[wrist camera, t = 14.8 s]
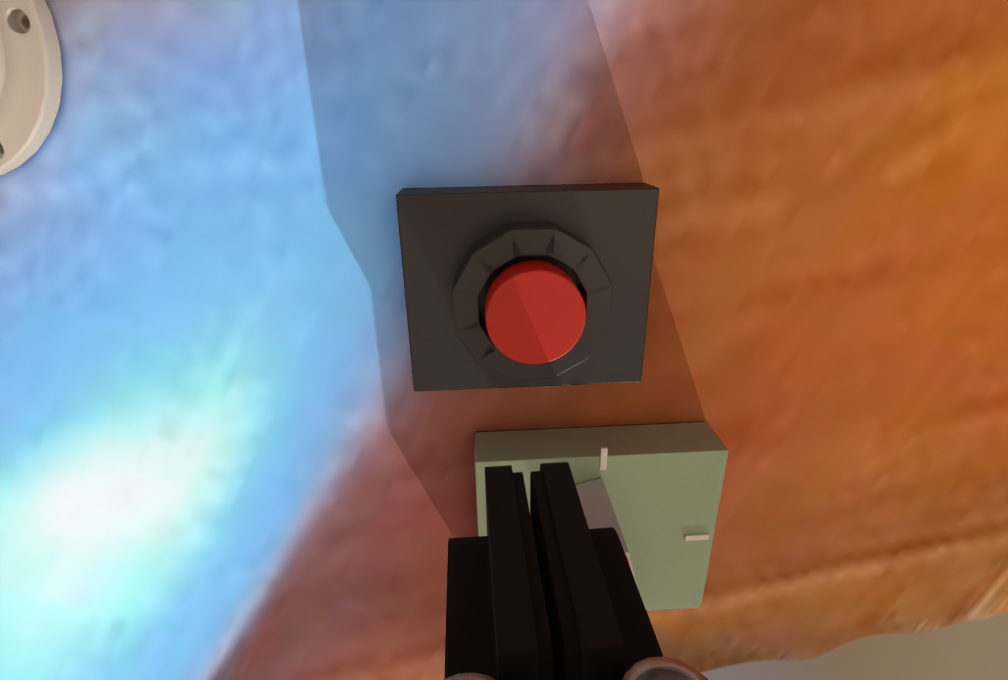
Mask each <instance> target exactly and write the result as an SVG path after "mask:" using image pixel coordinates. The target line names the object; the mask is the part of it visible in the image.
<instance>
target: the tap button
mask: <svg viewBox="0 0 1008 680" xmlns="http://www.w3.org/2000/svg"><path fill="white" fill-rule="evenodd" d="M485 319H486V328H487V332H488V334H489V337H490V339H491V341H492V342H493V344H494V345H495V347H496V348H497V349H498V350H499V351H500V352H501V353H502V354H504V355H505V356H507V357H508V358H510V359H512V360H515V361H517V362H521V363H526V364H542V363H547V362H550V361H553V360H556V359H558V358H560V357H561V356H563V355H565V354H566V353H567V352H568V351H570V350H571V349H572V348H573V346H574V345H575V344H576V343H577V341H578V340H579V338H580V336H581V335H582V332H583V330H584V326H585V321H586V308H585V303H584V300H583V298H582V295H581V293H580V292H579V290H578V288H577V287H576V285H575V283H574V282H573V280H572V279H571V277H570V276H569V275H568V274H567V273H566V272H565V271H564V270H562V269H561V268H559V267H558V266H556V265H554V264H552V263H549V262H545V261H540V260H529V261H523V262H519V263H516V264H513V265H512V266H510V267H508V268H506V269H505V270H503V271H502V272H501V273H500V274H499V275H498V276H497V277H496V278H495V279H494V281H493V282H492V284H491V285H490V287H489V289H488V292H487V295H486V299H485Z"/></svg>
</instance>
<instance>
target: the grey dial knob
mask: <svg viewBox="0 0 1008 680" xmlns="http://www.w3.org/2000/svg"><path fill="white" fill-rule="evenodd" d="M576 488H577V492H578V495H579V498H580V501H581V505H582V508H583V511H584V514H585V518H586V521H587V524H588V527H589V529H594V528H609V527H613V528H614V529H615V530H616V532H617V534H618V536H619V539H620V541H621V544H622V547H623V550H624V552H625V555H626V558H627V560H628V563H629V566H630V568H631V571H632V574H633V576H634V579H635V582H636V585H637V581H636V577H635V573H634V569H633V565H632V561H631V557H630V553H629V550H628V547H627V545H626V542H625V539H624V536H623V534H622V531H621V528H620V525H619V522H618V520H617V517H616V514H615V511H614V509H613V506H612V503H611V500H610V498H609V495H608V492H607V489H606V486H605V484H604V481H603V478H598V479H594V480H591V481H587V482H583V483H579V484H576ZM637 587H638V585H637ZM638 590H639V589H638Z"/></svg>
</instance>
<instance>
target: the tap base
mask: <svg viewBox="0 0 1008 680" xmlns="http://www.w3.org/2000/svg"><path fill="white" fill-rule="evenodd" d="M474 442H475V480H476V502H477V524H478V536H487V519H486V493H485V467H491V466H507V465H511V466H512V471H513V473H514V472H523V476H524V482H525V488H526V494H527V500H528V505H529V511H530V473H531V471H540V464H541V463H557V462H568V463H569V466H570V469H571V472H572V475H573V479H574V482H575V485H576V484H579V483H583V482H587V481H591V480H594V479H598V478H603V481H604V484H605V486H606V489H607V492H608V495H609V498H610V500H611V503H612V506H613V509H614V511H615V514H616V517H617V520H618V522H619V525H620V528H621V531H622V534H623V536H624V539H625V542H626V545H627V547H628V550H629V553H630V557H631V561H632V565H633V569H634V573H635V577H636V581H637V585H638V589H639V593H640V595H641V598H642V601H643V603H644V606H645V609H646V611H655V610H671V609H687V608H701V604H702V599H703V593H704V587H705V582H706V576H707V570H708V565H709V559H710V553H711V548H712V542H713V536H714V530H715V525H716V519H717V513H718V508H719V502H720V496H721V491H722V485H723V479H724V474H725V468H726V462H727V457H728V449H727V448H726V446H725V445H724V444H723V442H722V441H721V440H720V438H719V437H718V436H717V435H716V433H715V432H714V431H713V429H712V428H711V427H710V425H709V424H708V423H707V422H692V423H670V424H648V425H626V426H604V427H581V428H559V429H537V430H515V431H493V432H475V433H474Z"/></svg>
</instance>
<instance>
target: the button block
mask: <svg viewBox="0 0 1008 680" xmlns="http://www.w3.org/2000/svg"><path fill="white" fill-rule="evenodd" d="M658 196H659V188H657V187H654V186H651V185H649V184H646V183H611V184H569V185H527V186H485V187H444V188H403V189H401V190H400V191H399V193H398V194H397V195H396V201H397V212H398V223H399V234H400V244H401V255H402V266H403V277H404V288H405V298H406V309H407V320H408V331H409V341H410V352H411V363H412V374H413V384H414V391H434V390H459V389H483V388H507V387H531V386H555V385H580V384H604V383H628V382H641V377H642V366H643V356H644V345H645V334H646V324H647V313H648V303H649V292H650V281H651V271H652V260H653V249H654V239H655V228H656V218H657V207H658ZM529 260H540V261H545V262H549V263H552V264H554V265H556V266H558V267H559V268H561V269H562V270H564V271H565V272H566V273H567V274H568V275H569V276H570V277H571V279H572V280H573V282H574V283H575V285H576V287H577V288H578V290H579V292H580V293H581V295H582V298H583V300H584V303H585V308H586V321H585V326H584V330H583V332H582V335H581V336H580V338H579V340H578V341H577V343H576V344H575V345H574V346H573V348H572V349H571V350H570V351H568V352H567V353H566V354H565V355H563V356H561V357H560V358H558V359H556V360H553V361H550V362H547V363H542V364H526V363H521V362H517V361H515V360H512V359H510V358H508V357H507V356H505V355H504V354H502V353H501V352H500V351H499V350H498V349H497V348H496V347H495V345H494V344H493V342H492V341H491V339H490V337H489V334H488V332H487V328H486V319H485V299H486V295H487V292H488V289H489V287H490V285H491V284H492V282H493V281H494V279H495V278H496V277H497V276H498V275H499V274H500V273H501V272H502V271H503V270H505V269H506V268H508V267H510V266H512V265H513V264H516V263H519V262H523V261H529Z"/></svg>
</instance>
